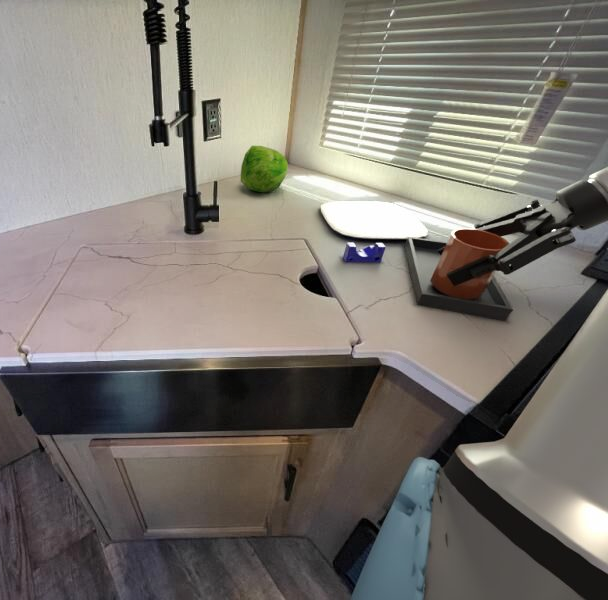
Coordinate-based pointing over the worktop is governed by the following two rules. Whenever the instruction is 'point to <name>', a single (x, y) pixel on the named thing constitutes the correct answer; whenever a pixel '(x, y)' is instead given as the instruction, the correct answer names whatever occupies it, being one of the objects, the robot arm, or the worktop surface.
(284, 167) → the lettuce
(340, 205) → the plate
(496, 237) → the terracotta plant pot
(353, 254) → the cable holder
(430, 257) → the tray
